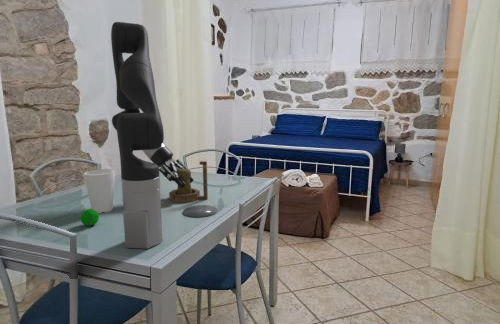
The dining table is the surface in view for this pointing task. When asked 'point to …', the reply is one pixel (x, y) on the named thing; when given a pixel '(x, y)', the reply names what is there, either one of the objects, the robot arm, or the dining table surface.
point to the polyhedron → (89, 217)
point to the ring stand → (195, 192)
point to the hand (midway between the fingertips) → (188, 184)
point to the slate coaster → (200, 211)
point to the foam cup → (100, 189)
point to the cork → (185, 176)
